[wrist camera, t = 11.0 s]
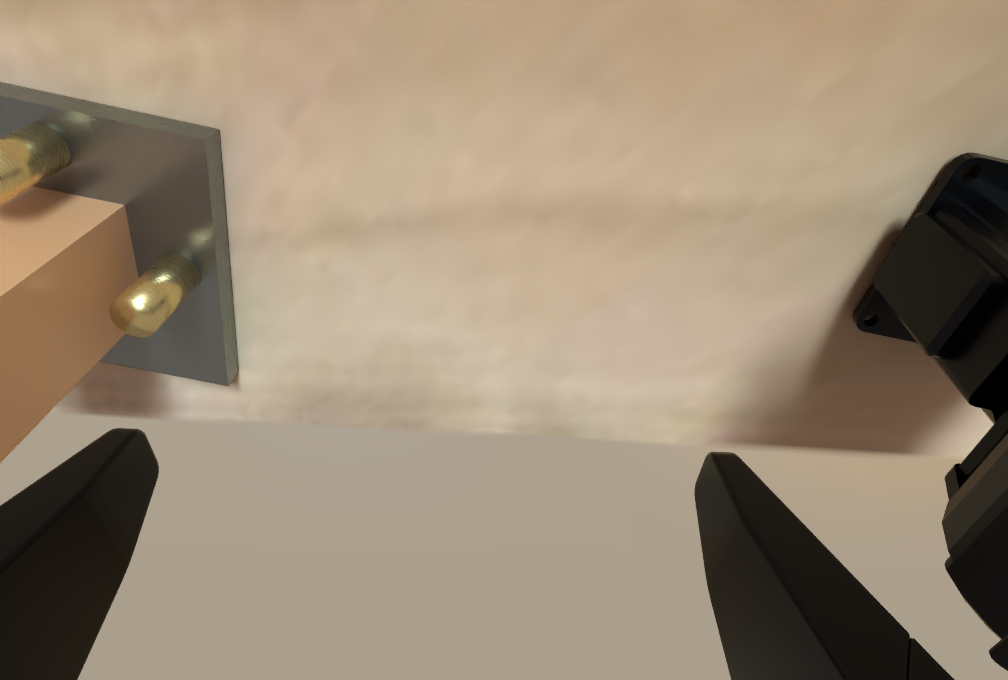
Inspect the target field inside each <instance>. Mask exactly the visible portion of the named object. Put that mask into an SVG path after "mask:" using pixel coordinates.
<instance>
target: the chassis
mask: <svg viewBox="0 0 1008 680" xmlns="http://www.w3.org/2000/svg"><path fill="white" fill-rule="evenodd" d="M32 186H33V187H38V188H43V189H48V190H53V191H58V192H63V193H68V194H73V195H78V196H83V197H88V198H93V199H98V200H102V201H107V202H112V203H117V204H122V205H125V210H126V215H127V220H128V225H129V231H130V236H131V241H132V246H133V252H134V257H135V262H136V267H137V272H138V279H137V280H136V281H135V282H134V283H133V284H132V285H131V286H130V287H129V288H128V289H127V290H126V291H125V292H123V293H122V294H121V295H120V296H119V297H118V298H117V299H116V300H115V301H114V302H113V303H112V304H111V305H110V308H109V314H110V317H111V319H112V321H113V322H114V324H115V325H116V326H117V327H118V328H119V329H121V330H122V331H123V332H125V333H126V334H125V335H124V336H123V337H122V338H121V339H120V340H119V341H118V342H117V343H116V344H115V345H114V346H113V347H112V348H111V349H110V350H109V351H108V352H107V353H106V354H105V355H104V356H103V357H102V358H101V359H100V360H99V361H101V362H106V363H112V364H117V365H122V366H127V367H132V368H137V369H142V370H148V371H153V372H158V373H163V374H168V375H173V376H179V377H184V378H189V379H194V380H199V381H204V382H210V383H215V384H220V385H225V386H229V384H230V383H231V381H232V380H233V378H234V377H235V375H236V374H237V372H238V359H237V347H236V334H235V322H234V309H233V297H232V284H231V272H230V259H229V246H228V234H227V221H226V209H225V196H224V184H223V171H222V158H221V146H220V133H219V129H214V128H210V127H205V126H200V125H196V124H191V123H186V122H182V121H177V120H173V119H168V118H163V117H159V116H154V115H149V114H145V113H140V112H136V111H131V110H126V109H122V108H117V107H113V106H108V105H103V104H99V103H94V102H89V101H85V100H80V99H76V98H71V97H66V96H62V95H57V94H52V93H48V92H43V91H39V90H34V89H29V88H25V87H20V86H15V85H11V84H6V83H2V82H0V205H1V204H2V203H4V202H6V201H8V200H9V199H11V198H13V197H15V196H16V195H18V194H20V193H22V192H23V191H25V190H27V189H29V188H30V187H32Z"/></svg>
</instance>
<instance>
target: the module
mask: <svg viewBox="0 0 1008 680" xmlns="http://www.w3.org/2000/svg"><path fill="white" fill-rule="evenodd" d="M137 279H138V272H137V267H136V262H135V257H134V252H133V246H132V241H131V236H130V231H129V225H128V220H127V215H126V210H125V205H122V204H117V203H112V202H107V201H102V200H98V199H93V198H88V197H83V196H78V195H73V194H68V193H63V192H58V191H53V190H48V189H43V188H38V187H33V186H32V187H30V188H29V189H27V190H25V191H23V192H22V193H20V194H18V195H16V196H15V197H13V198H11V199H9V200H8V201H6V202H4V203H2V204H1V205H0V463H1V462H2V461H3V460H4V458H6V457H7V455H8V454H9V453H10V452H11V451H12V450H13V449H14V448H15V447H16V446H17V445H18V444H19V443H20V442H21V441H22V440H23V439H24V438H25V437H26V436H27V435H28V434H29V433H30V432H31V431H32V430H33V428H35V427H36V426H37V424H38V423H39V422H40V421H41V420H42V419H43V418H44V417H45V416H46V415H47V414H48V413H49V412H50V411H51V410H52V409H53V408H54V407H55V406H56V405H57V404H58V403H59V402H60V401H61V400H62V399H63V398H64V397H65V396H66V395H67V393H68V392H69V391H70V390H71V389H72V388H73V387H74V386H75V385H76V384H77V383H78V382H79V381H80V380H81V379H82V378H83V377H84V376H85V375H86V374H87V373H88V372H89V371H90V370H91V369H92V368H93V367H94V366H95V365H96V364H97V362H98V361H99V360H100V359H101V358H102V357H103V356H104V355H105V354H106V353H107V352H108V351H109V350H110V349H111V348H112V347H113V346H114V345H115V344H116V343H117V342H118V341H119V340H120V339H121V338H122V337H123V336H124V335H125V334H126V333H125V332H123V331H122V330H121V329H119V328H118V327H117V326H116V325H115V324H114V322H113V321H112V319H111V317H110V314H109V308H110V305H111V304H112V303H113V302H114V301H115V300H116V299H117V298H118V297H119V296H120V295H121V294H122V293H123V292H125V291H126V290H127V289H128V288H129V287H130V286H131V285H132V284H133V283H134V282H135V281H136V280H137Z"/></svg>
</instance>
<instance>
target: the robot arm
mask: <svg viewBox="0 0 1008 680" xmlns="http://www.w3.org/2000/svg"><path fill="white" fill-rule="evenodd" d="M972 165H974V167H973V169H972V171H971V172H970V173H969V174H968V175H965V176H961V175H962V173H963V171H964V170H965V169H966V168H967V167H970V166H972ZM872 314H875V315H874V316H873V317H872V318H871V319H868V320H865V318H866V317H867V316H869V315H872ZM852 318H853V321H854V323H855V324H856V326H857V327H858V328H859V329H860V330H862V331H864V332H869V333H873V334H878V335H883V336H888V337H892V338H897V339H902V340H907V341H911V342H916V343H918V344H919V345H920V347H921V348H922V349H923V351H924V352H925V353H926V354H927V355H928V356H931V357H933V358H934V359H935V361H936V362H937V363H938V364H939V366H940V367H941V368H942V370H943V371H944V372H945V373H946V375H947V376H948V377H949V378H950V380H951V381H952V382H953V384H954V385H955V386H956V387H957V389H958V390H959V391H960V393H961V394H962V395H963V396H964V398H965V399H966V400H967V401H968V403H969V404H970V405H972V406H975V407H980V408H981V409H982V410H983V411H984V412H985V414H986V415H987V416H988V417H989V419H990V420H991V421H992V422H993V424H994V425H993V426H992V428H991V429H990V430H989V431H988V432H987V433H986V435H985V436H984V437H983V438H982V439H981V441H980V442H979V443H978V444H977V445H976V447H975V448H974V449H973V450H972V451H971V452H970V454H969V455H968V456H967V457H966V458H965V460H964V461H963V462H962V463H961V464H955V465H954V467H953V468H952V469H951V470H950V471H949V472H948V473H947V475H946V476H945V482H946V487H947V493H948V498H949V502H948V504H947V507H946V510H945V514H944V517H943V520H942V525H943V530H944V534H945V539H946V543H947V548H948V551H949V553H950V557H949V558H948V559H947V560H946V562H945V567H946V570H947V572H948V574H949V575H950V577H951V579H952V580H953V582H954V583H955V585H956V587H957V588H958V590H959V591H960V593H961V595H962V596H963V598H964V599H965V601H966V602H967V603H968V604H969V606H970V607H971V608H972V609H973V610H974V612H975V613H976V614H977V615H978V616H979V617H980V619H981V620H982V621H983V622H984V623H985V625H986V626H987V627H988V628H989V629H990V630H991V631H992V632H993V633H995V634H996V635H997V636H998V637H999V638H1000V639H1001V641H999V642H998V643H997V644H996V645H995V646H993V647H992V648H991V649H990V650H989V654H990V656H991V658H992V659H993V660H994V661H995V662H996V663H998V664H999V665H1000V666H1001V667H1003V668H1004V669H1006V670H1007V671H1008V160H1004V159H999V158H995V157H990V156H986V155H982V154H977V153H965V154H962V155H960V156H958V157H957V158H955V159H954V160H953V161H952V162H951V163H950V164H949V165H948V167H947V169H946V170H945V172H944V173H943V175H942V176H941V178H940V179H939V181H938V182H937V184H936V186H935V187H934V189H933V190H932V192H931V193H930V195H929V196H928V198H927V199H926V201H925V203H924V204H923V206H922V207H921V209H920V210H919V212H918V213H917V215H916V216H914V217H913V218H912V219H911V221H910V222H909V224H908V225H907V227H906V229H905V230H904V232H903V233H902V235H901V236H900V238H899V239H898V241H897V243H896V244H895V246H894V247H893V249H892V250H891V252H890V253H889V255H888V256H887V258H886V260H885V261H884V263H883V264H882V266H881V267H880V269H879V270H878V272H877V273H876V275H875V277H874V278H873V283H872V284H871V286H870V287H869V289H868V290H867V292H866V294H865V295H864V297H863V298H862V300H861V301H860V303H859V304H858V306H857V307H856V309H855V311H854V313H853V315H852ZM158 473H159V466H158V462H157V459H156V457H155V455H154V453H153V450H152V448H151V446H150V444H149V442H148V439H147V437H146V435H145V433H144V432H142V431H141V430H138V429H122V428H117V429H113V430H110V431H109V432H107V433H105V434H104V435H103V436H101V437H100V438H98V439H97V440H95V441H94V442H92V443H91V444H89V445H88V446H87V447H85V448H84V449H82V450H81V451H79V452H78V453H76V454H75V455H73V456H72V457H71V458H69V459H68V460H66V461H65V462H63V463H62V464H60V465H59V466H57V467H56V468H55V469H53V470H52V471H50V472H49V473H47V474H46V475H44V476H43V477H41V478H40V479H39V480H37V481H36V482H34V483H33V484H31V485H30V486H28V487H27V488H26V489H24V490H23V491H21V492H20V493H18V494H17V495H15V496H14V497H12V498H11V499H9V500H8V501H7V502H5V503H4V504H2V505H1V506H0V680H77V679H78V677H79V675H80V672H81V670H82V668H83V666H84V664H85V662H86V659H87V657H88V655H89V653H90V651H91V648H92V646H93V644H94V642H95V640H96V637H97V635H98V633H99V631H100V629H101V626H102V624H103V622H104V620H105V618H106V615H107V613H108V611H109V609H110V606H111V604H112V602H113V600H114V598H115V595H116V593H117V591H118V589H119V587H120V584H121V582H122V580H123V578H124V575H125V573H126V570H127V568H128V566H129V563H130V560H131V557H132V555H133V552H134V549H135V546H136V543H137V540H138V536H139V533H140V530H141V527H142V524H143V521H144V518H145V515H146V512H147V509H148V506H149V502H150V500H151V497H152V494H153V490H154V487H155V484H156V481H157V478H158ZM695 502H696V509H697V516H698V523H699V531H700V538H701V545H702V552H703V559H704V567H705V573H706V580H707V585H708V590H709V594H710V599H711V603H712V607H713V610H714V615H715V618H716V622H717V626H718V630H719V634H720V638H721V641H722V645H723V649H724V653H725V657H726V661H727V664H728V669H729V673H730V676H731V680H954V679H953V678H952V677H951V676H950V675H949V674H948V673H947V672H946V671H945V670H944V669H943V668H942V667H941V666H940V665H939V664H938V663H937V662H936V661H935V660H934V659H933V658H932V657H931V656H930V655H929V653H928V652H927V651H926V650H925V649H923V647H922V646H921V645H920V644H919V643H918V642H917V641H916V640H915V639H913V638H910V639H909V637H910V636H909V633H908V632H907V631H906V630H905V629H904V628H903V627H902V626H901V625H900V624H899V623H898V622H897V621H896V620H895V618H894V617H893V616H891V614H890V613H888V611H887V610H886V609H885V608H884V607H883V606H882V605H881V604H880V603H879V602H878V601H877V600H876V599H875V598H874V597H873V596H872V595H871V594H870V593H869V592H868V590H867V589H866V588H865V587H864V586H863V585H862V584H861V583H860V582H859V581H858V580H857V579H856V578H855V577H854V576H853V575H852V574H851V573H850V572H849V571H848V570H847V569H846V568H845V567H844V566H843V565H842V563H840V561H839V560H838V559H836V557H835V556H834V555H833V554H832V553H831V552H830V551H829V550H828V549H827V548H826V547H825V546H824V545H823V544H822V543H821V542H820V541H819V540H818V539H817V538H816V536H814V534H813V533H812V532H811V531H810V530H809V529H808V528H807V527H806V526H805V525H804V524H803V523H802V522H801V521H800V520H799V519H798V518H797V517H796V516H795V515H794V514H793V513H792V512H791V511H790V510H789V508H788V507H786V505H785V504H784V503H783V502H782V501H781V500H780V499H779V498H778V497H777V496H776V495H775V494H774V493H773V492H772V491H771V490H770V489H769V488H768V487H767V486H766V485H765V484H764V483H763V482H762V481H761V479H760V478H759V477H758V476H757V475H756V474H755V473H754V472H753V471H752V470H751V469H750V468H749V467H748V466H747V465H746V464H745V463H744V462H743V461H742V460H741V459H740V458H739V457H738V456H737V455H736V454H734V453H730V452H710V453H709V454H708V455H707V456H706V458H705V460H704V463H703V466H702V468H701V471H700V474H699V476H698V479H697V481H696V485H695Z"/></svg>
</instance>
